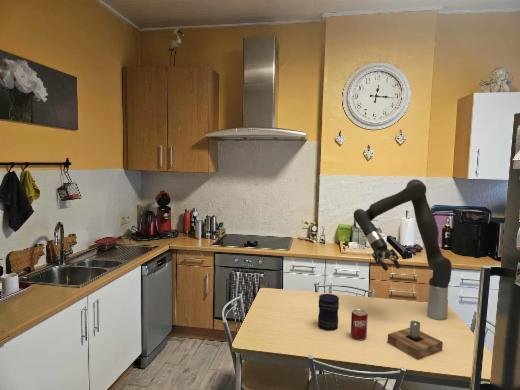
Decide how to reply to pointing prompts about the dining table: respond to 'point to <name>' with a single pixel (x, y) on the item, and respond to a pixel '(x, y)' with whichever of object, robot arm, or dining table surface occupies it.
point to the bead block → (415, 343)
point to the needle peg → (414, 331)
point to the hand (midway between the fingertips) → (392, 269)
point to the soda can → (359, 324)
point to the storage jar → (328, 312)
